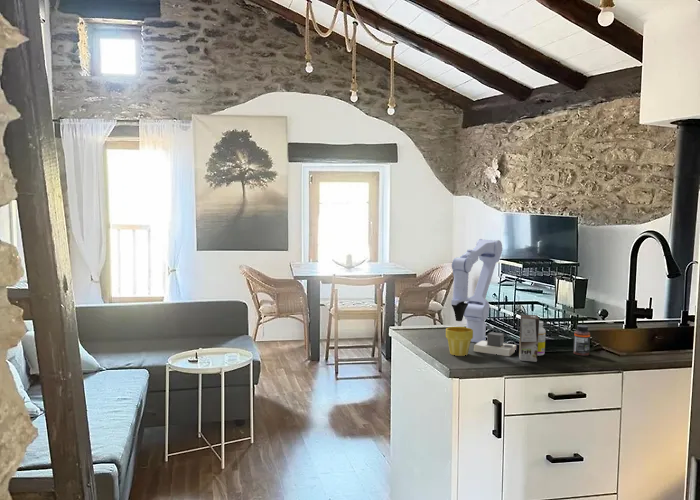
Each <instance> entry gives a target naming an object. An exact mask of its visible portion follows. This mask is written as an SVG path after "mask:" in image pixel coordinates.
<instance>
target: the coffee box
mask: <svg viewBox="0 0 700 500" xmlns="http://www.w3.org/2000/svg"><path fill="white" fill-rule="evenodd" d="M539 321H540V318H539V316H538V315H537V314H520V323H519V324H520V326H519V345H518V346H519V349H518V356H519V357H518V358H519V360H520V361H523V362H534V363H535V362H536V363H537V361H538V356H537V351H538V333H539Z"/></svg>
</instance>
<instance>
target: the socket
mask: <svg viewBox="0 0 700 500" xmlns="http://www.w3.org/2000/svg"><path fill="white" fill-rule="evenodd" d="M515 350H516V351H517V344H513V343H503V345H502V347H495V346H490V345H487V340H485V341H483V340H482V341H480V342H478V343H477V342H476V343H475V344H474V345H473V352H475V353H476V352H477V353H482V354H483V353H484V354H490V355H496V354H497V356H503V357H511V356H512V355H513V354H515Z"/></svg>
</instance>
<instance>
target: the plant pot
mask: <svg viewBox="0 0 700 500" xmlns="http://www.w3.org/2000/svg"><path fill="white" fill-rule="evenodd" d="M445 338H446V339H447V344H448V350H449V354H450V355H452V356H454V355H455V357H466V356H468V354H469V350H470V346H471V343H472V342H471V339H472V338H473V330H472V329H470V328H466V327H465V326H451V327H446V328H445ZM465 355H466V356H465Z"/></svg>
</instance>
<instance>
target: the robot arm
mask: <svg viewBox="0 0 700 500" xmlns="http://www.w3.org/2000/svg"><path fill="white" fill-rule="evenodd" d="M502 253H503V242H502V241H501V240H499V239H497V240H496V239H494V240H493V239H483V238H479V239H478V240H477V241H476V244H475V247H474V248H473V249H467V250H466V252H464V253H463V254H462V255H461V256H460V257H457V256H456V257H454V259H453V260H452V262H451V270H452V275H453V288H452V289H453V291H452V299H451V301H450V302H451V303H450V305H451V307H452V309H453V312H454V317H455V321H456V322H462V321H463V319H465V320H466V327H465V328H470V329H472V330H473V338H472V339H471V342H470V343H476V344H477V343H478V342H480V341H482V340H483V341H487V340H486V338H487V337H486V329H487V323H486V322H485V321H486V320H487V319H488V317H489V314H490V307H491V306H490V303H489V301H488V300H487V299H486V297H487V294H488V291H489V288H490V284H491V281H492V278H493V275H494V270H495V267H496V264H497V263H498V262H499V261H500V259H501V255H502ZM479 260H480V261H481V262H482V267H481V269H480V273H479V276H478V279H477V283H476V286H475V290H474V292H473V295H472V296H470V297H469V296H468V291H469V273H470V272H471V271H472V268H473V266H474V264H475V263H476V262H478V261H479Z"/></svg>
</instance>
